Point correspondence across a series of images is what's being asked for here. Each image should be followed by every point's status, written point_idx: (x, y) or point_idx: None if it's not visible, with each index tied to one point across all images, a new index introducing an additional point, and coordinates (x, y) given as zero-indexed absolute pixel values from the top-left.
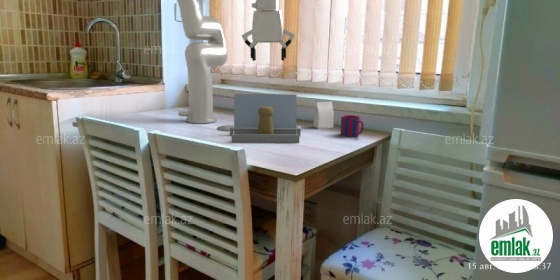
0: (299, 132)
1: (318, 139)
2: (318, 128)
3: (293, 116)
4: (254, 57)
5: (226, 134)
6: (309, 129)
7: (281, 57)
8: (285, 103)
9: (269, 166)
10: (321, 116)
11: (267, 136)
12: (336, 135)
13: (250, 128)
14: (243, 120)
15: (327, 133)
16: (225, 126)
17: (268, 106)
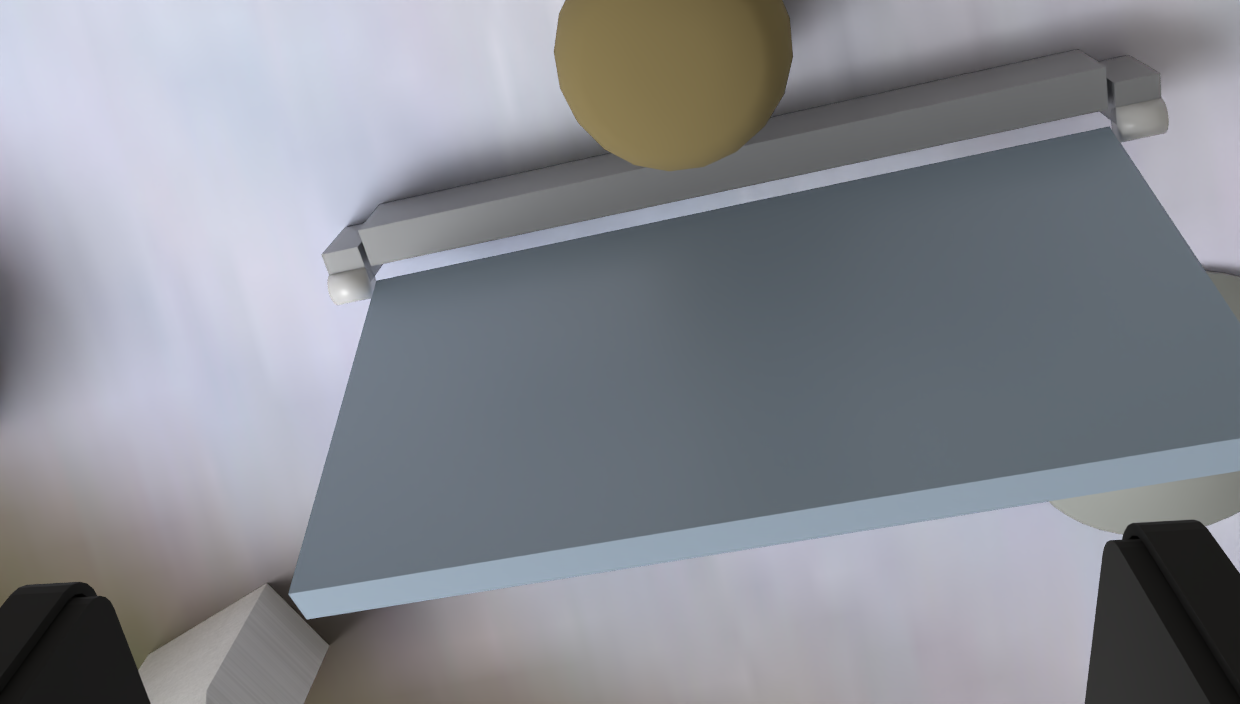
0: (344, 239)
1: (120, 102)
2: (263, 586)
3: (385, 362)
4: (1147, 599)
5: (1177, 97)
6: None
7: (50, 644)
8: (463, 462)
9: None
10: (195, 680)
11: None
12: (13, 332)
13: (894, 130)
14: (1013, 199)
15: (121, 400)
16: None
17: (636, 112)
